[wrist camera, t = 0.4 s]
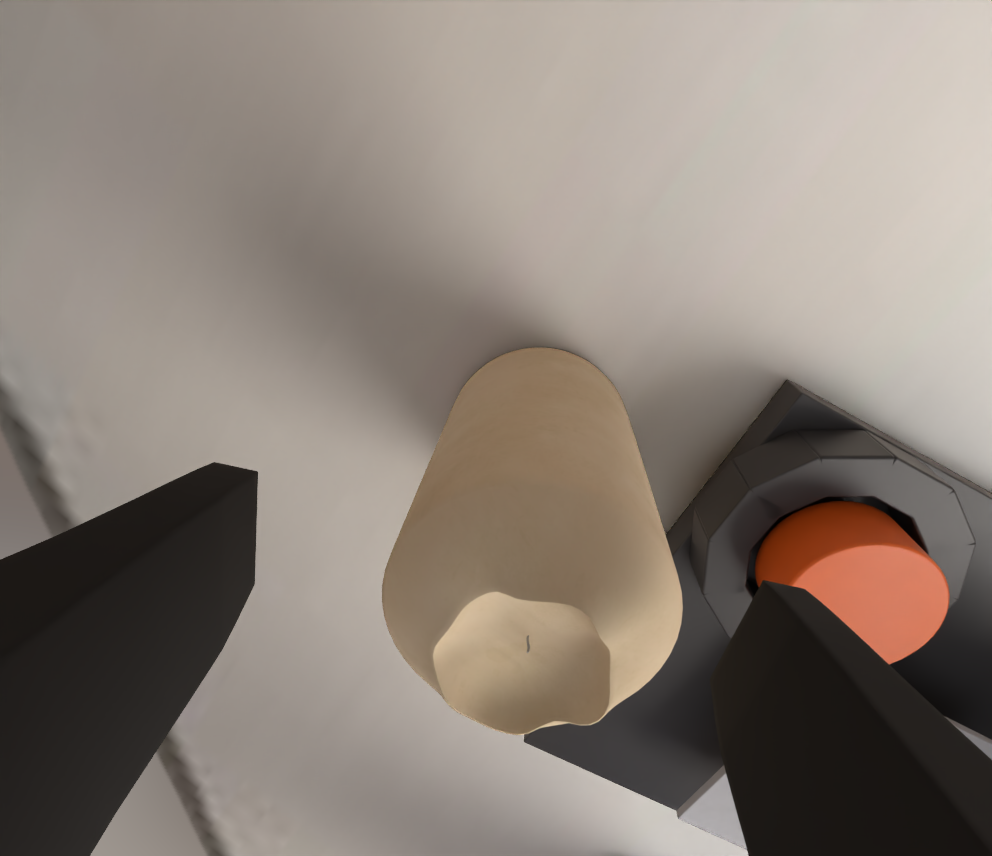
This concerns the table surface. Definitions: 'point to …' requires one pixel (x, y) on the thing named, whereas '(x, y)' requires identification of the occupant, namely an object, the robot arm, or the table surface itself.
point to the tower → (717, 807)
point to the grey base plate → (732, 586)
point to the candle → (534, 552)
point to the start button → (860, 573)
